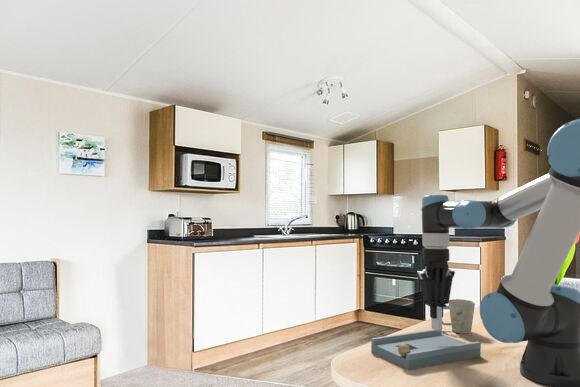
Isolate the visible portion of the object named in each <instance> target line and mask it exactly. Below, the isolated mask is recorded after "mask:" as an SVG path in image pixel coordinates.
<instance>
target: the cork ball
mask: <svg viewBox="0 0 580 387" xmlns="http://www.w3.org/2000/svg"><path fill="white" fill-rule="evenodd" d="M398 352H399V354H400V355H401V356H403V357H406V353H410V352H411V350H410V347H409V346H408V345H406V344H401V345H400V346H399V348H398Z"/></svg>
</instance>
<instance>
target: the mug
mask: <svg viewBox="0 0 580 387" xmlns="http://www.w3.org/2000/svg"><path fill="white" fill-rule="evenodd" d="M475 304H476V302H474V301H472V300H467V299H458V298H457V299H455V298H454V299H449V303H448V305H446V307H443V310H449V315H450V316H449V317H450V322H444V321H443V320H442V326H451V331H452V332H454V333H457V334H461V335H462V334H463V335H465V334H466V335H469V334H471V333H472V329H473V327H472V326H473V321H474V320H473V319H474V314H475V306H476V305H475Z"/></svg>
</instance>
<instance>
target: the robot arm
mask: <svg viewBox="0 0 580 387" xmlns="http://www.w3.org/2000/svg"><path fill="white" fill-rule="evenodd" d="M546 149H547V151H546V155H547V156H548V160H547V161H548V164H549V165H550V169H549V170H548V173H546V174H544V175H542V176H540V177H537V178H534V180H532V181H530V182H527V183H525V184H523V185H521V186H519V187H517V188H515V189H514V190H511V191H509V192H507V193H505V194H503V195H501V196H500V197H497V198H495V199H492V200H488V201H487V200H471V199H470V200H469V199H464V200H463V199H462V200H456V201H455V200H452V201H449V200H450V199H449V196H448V195H446V194H426V195H424V196H422V199H421V200H422V201H421V224H422V225H421V228H422V230H421V231H422V237H421V238H422V246H423V248H422V249H421V250H422V261H423V262H424V264H423V267H422V270H421V271H418V272H417V273H416V276H417V278H418V280H419V285H420V289H421V293H422V299H423V304H424V305H427V307H429V316H430V318H431V330H433V329H435V330H438V331H439V330H442V331H443V324H442V321H443V318H444V309H443V307H446V306H447V305H449V300H450V296H451V291H452V284H453V278H454V276H455V274H456V272H455V270H452V269H450V268H449V267H450V266H449V264H448V262H449V261H450V250H449V248H448V247H450V228H453V229H465V230H467V229H468V230H472V229H481V228H483V229H486V228H489V229H504V228H510V227H512V226H513V225H514V224H515V223H516V221H517V220H519V219H522V218H523V217H526V216H529V215H531V214H533V213H536V212H538V211H539V212H538V214H537V217H536V219H535V222H534V223H533V226H532V228H531V230H530V231H529V232H530V233H529V235H528V237H527V239H526V241H525V244H524V246H523V248H522V251H521V253H520V255H519V257H518V260H517V261H516V264H515V267H514V268H513V271H512V273H511V274H508V275H507V274H506V275H504V276H503V277H502V278H501V280H500V283H499V284H498V286H497V290H496V291H492V292H489V293H487V294H485V295H484V296H483V297H482V298H481V301H480V302H479V316H480V319H481V321H482V325H483V327H484V329H485V330H486V331H487V333H488V334H489V335H490V336H491V337H492V338H493V339H495V340H496V341H498V342H500V343H503V344H512V343H513V344H518V343H520V342H527V343H526V346H525V349H524V352H523V355H522V356H521V360H520V362H519V372H520V374H521V375H522V376H523V377H525V379H528V380H530V381H532V382H536V383H538V384H543V385H545V386H550V387H580V291H579V290H578V289H577V288H574V287H570V286H564V285H558V284H555V282H556V280H557V278H558V276H559V274H560V272H561V270H562V269H563V266H564V264H565V261H566V260H567V258H568V256H569V254H570V252H571V250H572V248H573V246H574V244H575V242H576V240H577V237H578V235H579V234H580V118H578V119H574V120H571V121H568V122H566V123H565V124H562V125H561V126H560V127H559V128H558V129H557V130H556V131H555V132H554V133H553V134H552V136H551V137H550V139H549V142H548V144H547V148H546Z"/></svg>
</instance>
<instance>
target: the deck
mask: <svg viewBox="0 0 580 387" xmlns="http://www.w3.org/2000/svg"><path fill="white" fill-rule="evenodd" d="M442 331H443V329H442V330H439V331H438V330H435V329H426V330H420V331H419V330H418V331H414V332H413V331H412V332H405V333H399V334H392V335H385V336H377V337H372V338H371V342H370V344H371V345H370V346H371V351H370V352H371V353H372V354H373V355H374V354H375V355H376V356H379V357H381V358H382V359H385V360H387V361H389V362H391V363H392V364H395V365H398V366H400V367H402V368H404V369H406V370H407V371H412V370H417V369H418V370H419V369H423V368H427V367H433V366H437V365H443V364H450V363H453V362H458V361H459V362H460V361H465V360H470V359H476V358H480V357H481V355H482V354H481V353H482V352H481V348H482V347H481V345H482V344H481V343H482V342H480V341H472V342H466V341H462V340H459V339H457V338H454V337H451V336H448V335H445V334H443V333H442ZM401 344H406V345H408V346H409V347H410V350H411V352H410V353H406V357H403V356H401V355H400V354H399V352H398V348H399V346H400V345H401Z"/></svg>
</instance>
